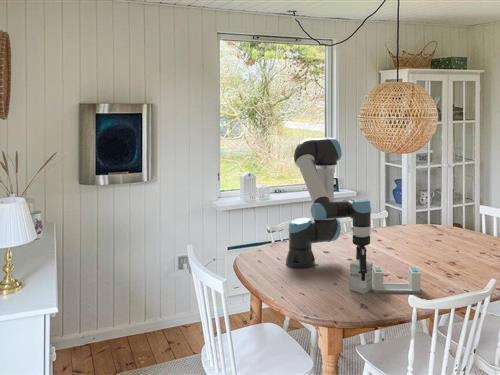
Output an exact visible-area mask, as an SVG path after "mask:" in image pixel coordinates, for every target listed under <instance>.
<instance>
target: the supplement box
mask: <svg viewBox="0 0 500 375" xmlns="http://www.w3.org/2000/svg"><path fill="white" fill-rule="evenodd" d="M366 264H367V273H366V288H360V273H358V272H359V271H360V262H359V259H358V260H354V261H352V262H350V263H349V290H350V291H354V292H356V293H360V294H362V295H364V294H367V293H369V292H370V291H371V290H372V291H373V289H372V281H373V262H371V261H367V260H366ZM364 271H365V270H364Z"/></svg>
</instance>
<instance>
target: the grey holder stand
mask: <svg viewBox="0 0 500 375" xmlns="http://www.w3.org/2000/svg"><path fill="white" fill-rule="evenodd" d="M407 268H408V270H407V271H408V272H407V282H384V271H383V269H382V267H381V266H372V293H373V294H410V293H412V294H411V295H416V294H417V295H419V294H420V295H422V293H423V292H422V290H421V281H422V280H421V276H422V275H421V271H420V270H419V269H418V267H417V266H408V267H407Z"/></svg>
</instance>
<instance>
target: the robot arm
mask: <svg viewBox="0 0 500 375" xmlns="http://www.w3.org/2000/svg"><path fill="white" fill-rule="evenodd" d="M341 159H342V147H341V143H340V142H339V141H338V140H337V138H334V137H321V138H319V137H318V138H306V139H303V140H302V141H300V142H299V143H298V144H297V146H296V148H295V150H294V154H293V160H294V164H295V166H296V167H297V168H298V169H299V171H300V173H301V176H302V179H303V181H304V183H305V187H306V189H307V190H308V194H309V196H310V199H311V201H312V204H311V205H310V213H311V214H310V215H311V217H312V219H313V220H312V219H311V218H310V217H300V218H295V219H292V220H291V221H290V222H289V224H288V251H287V255H286V259H285V264H286V266H288V265H289V266H288V267H290V266H292V267H291V268H294V267H296V269H306V267H307V268H311V267H314V266H315V265H316V259H315V255H314V252H313V249H312V248H313V246H312V245H313V244H315V243H326V242H327V243H330V242H334V241H337V240H338V239H339V238H340V235H341V233H342V232H341V230H342V227H341V222H340V220H339V219H343V218H344V219H345V218H351V219H352V227H350V229H351V230H352V234H353V235H352V244H353V245H355V246H356V248H355V249H356V252H355V253H356V254H355V255H356V256H355V259H356V260H358V259H359V262H360V271H359V272H358V273H360V288H366V273H367V264H366V261H367V248H366V246H369V245H370V244H371V230H372V229H371V226H372V225H371V217H372V216H371V215H372V213H371V212H372V208H371V201H370V200H369V199H366V198H355V199H351V198H345V199H343V200H340V201H335V200H334V197H335V196H334V192H335V191H334V188H335V187H334V186H335V185H334V184H335V180H334V179H335V167H337V165H338V161H340V160H341ZM356 260H355V261H356ZM364 270H365V271H364Z"/></svg>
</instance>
